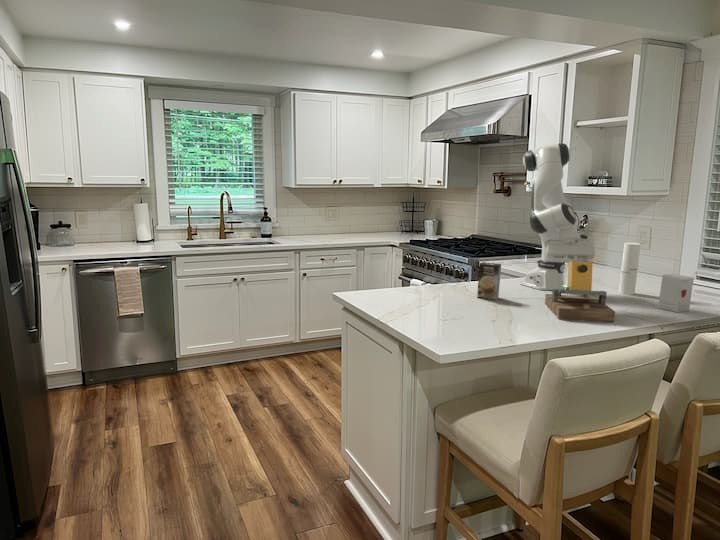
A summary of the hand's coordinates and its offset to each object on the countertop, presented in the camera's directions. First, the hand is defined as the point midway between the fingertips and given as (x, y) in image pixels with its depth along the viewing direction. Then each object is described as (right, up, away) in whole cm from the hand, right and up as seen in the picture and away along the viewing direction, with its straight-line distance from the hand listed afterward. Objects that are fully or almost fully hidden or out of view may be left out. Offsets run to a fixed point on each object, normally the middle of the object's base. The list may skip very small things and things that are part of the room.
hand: (571, 265), depth 231 cm
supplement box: (+46, -20, +4) cm, 51 cm away
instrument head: (0, -12, -8) cm, 15 cm away
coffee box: (-32, -15, +17) cm, 39 cm away
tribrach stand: (0, -20, -7) cm, 21 cm away
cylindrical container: (+41, -14, +34) cm, 55 cm away
